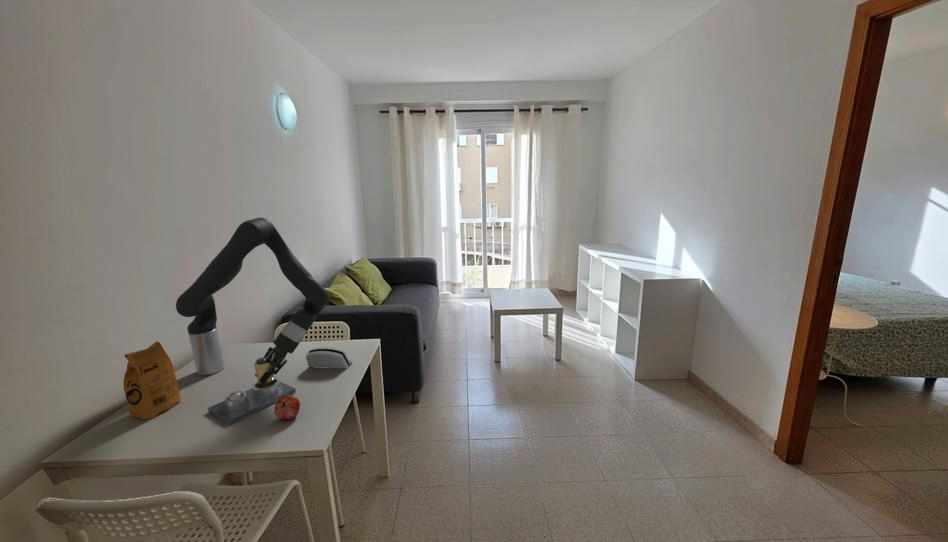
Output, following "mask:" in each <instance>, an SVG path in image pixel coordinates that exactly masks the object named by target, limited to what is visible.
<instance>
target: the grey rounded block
mask: <svg viewBox="0 0 948 542" xmlns="http://www.w3.org/2000/svg"><path fill="white" fill-rule="evenodd" d="M305 358H306V359H305V360H306V362H307V366H308V368H309V367H325V368H324V369H331V368H344V369H343V370H348V369H349V368H350V367H349V366H350V365H351V364H350V363H352V364H353V361H352V359H350V358H349V357H348V355H347V353H346V351H345V350H344V349H341V348H338V347H333V346H332V347H330V346H320V347H314V348H311V349H310V350H308V352H307V353H306V355H305ZM326 367H327V368H326ZM347 368H348V369H347Z"/></svg>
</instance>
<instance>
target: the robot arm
mask: <svg viewBox="0 0 948 542" xmlns="http://www.w3.org/2000/svg"><path fill="white" fill-rule="evenodd" d="M261 245H265V246H267V247H268V249H270V250H271V252H272V253H273V255H274V256H275V258H276V260H277V263H278V267H279V268H280V271H281V273H282V274H283V275H284V277H285V278H286V279H287V280H288V281H289V283H291V285H293V286H294V287H295V289H296V290H298V291H299V292H300V293H301V294H302V295H303V297H305V301H304V302H303V304H302V306H301V307H300V308H299V309H298V310H297V311H296V312H295V313H294V315H293V316H292V317H291V319H289V321H288V323H286V324H285V326H283V328H282V329H281V331H280V332H279V334H277V336H276V338H275V339H274V341H273V343H272V344H273V345H275V346H274V347H271V346H270V347H269V348H268V349H267V351H266V352H265V354H264V356H263V357H267V358H268V359H270V361H269V366H268V368H267V370H266V371H265V373H264V374H263V375H262V377H261V378H260V379H259V382H261V383H263V384H265V383H266V382H267V380H268V379H269V378H270V376H271V375H273V376H274V375H277V374H278V373H279V372H280V370H281V369H283V367H284V366H285V365H286V364H287V362H288V360H287V359H286V357H287V354H293V353H294V352H295V351H296V349H297V347H298V346H299V345H300V344H301V342H302V341H303V339H304V337H305V336H306V335H307V332H308V331H309V330H310V328H311V327H312V326H313V324H314V322H315V320H316V318H317V317H318V316H319V314H320V313H321V312H322V311H323V310H324V308H325V307H326V305H328V303H329V301H330V294H329V292H328V291H327V289H325V288H324V287H323V285H321V284H320V282H318V281H317V280H316V279H315V278H314V277H313V276H312V274H311V273H310V272H309V271H308V270H307V269H306V267H305V266H304V265H303V264H302V263H301V261H299V260H298V258H297V257H296V256H295V255H294V253H293V251H292V250H291V249H290V247H289V246H288V244H287V243H286V241H285V240H284V238H283V237H282V235H281V234H280V233H279V231H278V229H277V228H276V226H275V225H274V223H272V221H270V220H269V219H268V218H267V217H266V218H265V217H255V218H253V219H248V220H245V221H243V222H242V223H241V224H239V225H238V227H237V228H236V230H235V231H234V233H233V235H232V236H231V237H230V239H229V241H228V242H227V244H226V245H225V246H224V247H223V248H222V249H221V250H220V251H219V252H218V254H217V255H216V256H215V257H213V259H212V260H211V261H210V262H209V264H208V265H207V267H206V268H205V269H204V270H203V272H202V273H201V274H200V275H199V276H198V277H197V279H196V280H195V281H194V282H193V283H192V284H191V286H189V287H188V288H187V289H186V290H185V291H183V293H182V294H180V296H178V298H177V300H176V302H175V310H176V311H177V313H178V314H179V315H180V316H181V317H186V318H192V317H194V318H193V320H192V321H191V322H190V323H189V324H188V325H187V333H188V336H189V337H188V338H189V343H190V348H191V352H192V355H193V361H194V367H195V370H196V374H197V375H198V376H200V377H201V376H210V375H214V374H217V373H218V372H221V371H222V370H224V368H225V364H224V363H225V362H224V359H223V354H222V348H221V343H220V338H219V333H218V327H217V320H218V317H217V309H216V301H215V299H214V294H215V293H216V292H218V291H220V290H222V289H223V288H225V287H226V286H228V285H229V284H230V283H231V282H232V281H233V280H234V279H235V278H236V276H237V275H238V274H239V273H240V272H241V270H242V267H243V264H244V260H245V258H246V257H247V256H248V255H249V254H250V252H252V251H253V250H254V249H255V248H257V247H260V246H261ZM254 377H256V378H257V376H256V373H255V374H254Z"/></svg>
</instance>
